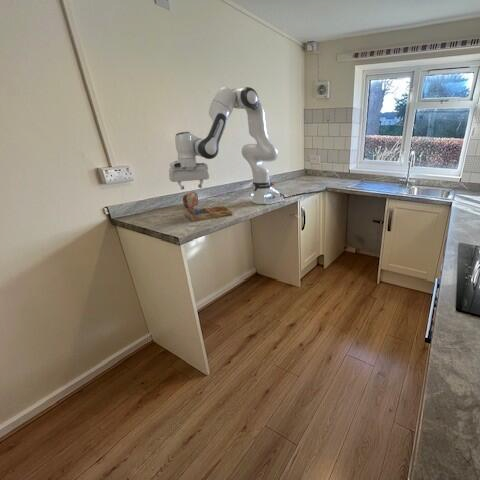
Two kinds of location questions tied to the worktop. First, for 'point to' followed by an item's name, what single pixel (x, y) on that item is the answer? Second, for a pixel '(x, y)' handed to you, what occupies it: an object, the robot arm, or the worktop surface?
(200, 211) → the blue spoon
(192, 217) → the cutlery tray
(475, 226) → the worktop surface
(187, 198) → the tin
